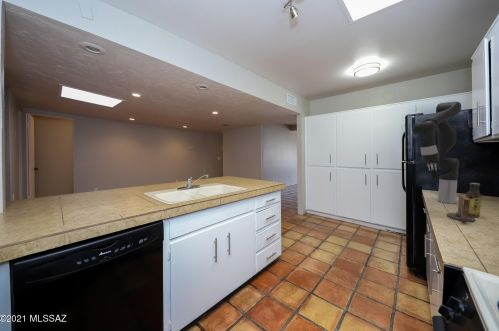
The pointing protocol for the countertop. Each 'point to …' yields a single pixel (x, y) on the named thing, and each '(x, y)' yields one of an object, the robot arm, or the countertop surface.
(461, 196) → the brown wooden block
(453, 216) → the base
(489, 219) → the countertop surface
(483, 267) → the countertop surface
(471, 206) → the sauce bottle
